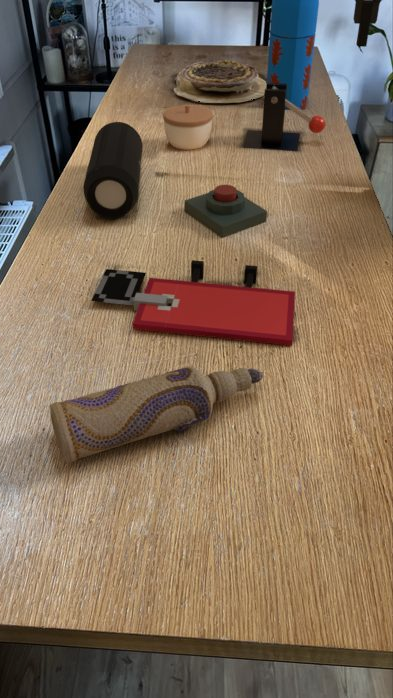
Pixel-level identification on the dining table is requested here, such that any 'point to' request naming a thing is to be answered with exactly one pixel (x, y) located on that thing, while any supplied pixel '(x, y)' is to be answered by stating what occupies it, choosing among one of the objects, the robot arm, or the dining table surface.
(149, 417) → the decorative bottle
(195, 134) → the trinket box
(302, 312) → the dining table surface
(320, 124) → the lever
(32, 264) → the dining table surface
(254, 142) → the bracket
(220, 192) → the button
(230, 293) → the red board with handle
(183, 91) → the pie
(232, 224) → the button box
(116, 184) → the portable speaker
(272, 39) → the thermos
